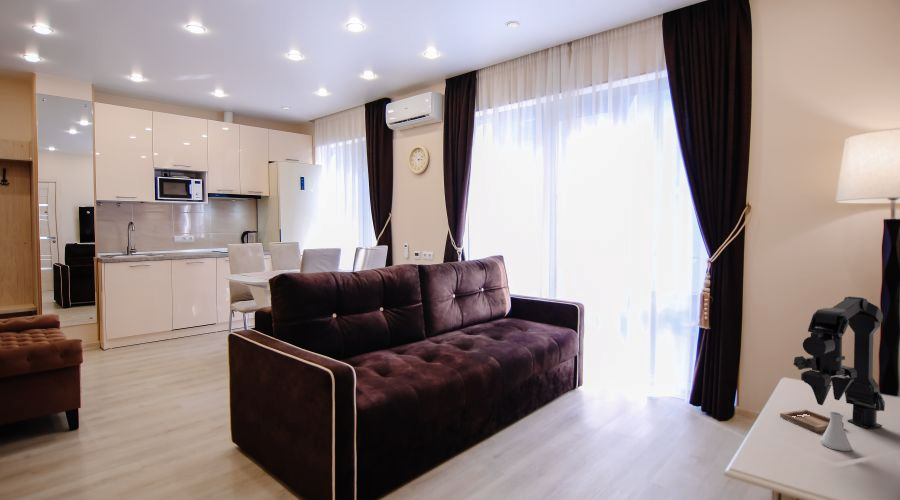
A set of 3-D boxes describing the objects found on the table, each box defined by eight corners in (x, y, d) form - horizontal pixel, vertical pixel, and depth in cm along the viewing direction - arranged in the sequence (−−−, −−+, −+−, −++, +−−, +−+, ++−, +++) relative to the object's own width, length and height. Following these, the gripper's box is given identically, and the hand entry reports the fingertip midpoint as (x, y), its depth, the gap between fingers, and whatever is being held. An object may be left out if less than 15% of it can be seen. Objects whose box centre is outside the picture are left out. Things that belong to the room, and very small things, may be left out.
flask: (858, 452, 131) (858, 419, 131) (829, 450, 132) (830, 417, 132) (841, 441, 138) (842, 409, 138) (814, 439, 140) (815, 408, 139)
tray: (805, 415, 159) (805, 409, 159) (843, 428, 147) (843, 422, 147) (780, 419, 156) (780, 413, 156) (817, 433, 144) (817, 427, 144)
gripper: (815, 342, 147) (815, 389, 148) (782, 349, 140) (781, 398, 140) (858, 350, 137) (857, 400, 138) (824, 357, 129) (823, 411, 130)
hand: (828, 402), depth 137 cm, fingers open, 9 cm apart
